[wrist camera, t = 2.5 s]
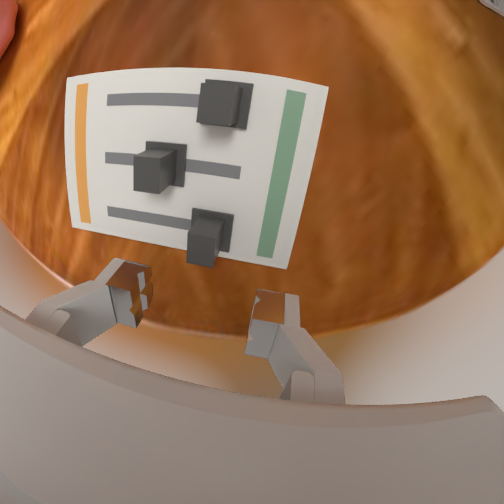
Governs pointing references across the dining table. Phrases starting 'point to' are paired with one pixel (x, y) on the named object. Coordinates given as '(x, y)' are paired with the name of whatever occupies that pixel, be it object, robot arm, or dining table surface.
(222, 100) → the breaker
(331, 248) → the dining table surface
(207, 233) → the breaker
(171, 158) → the breaker
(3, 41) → the cell model
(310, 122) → the panel
